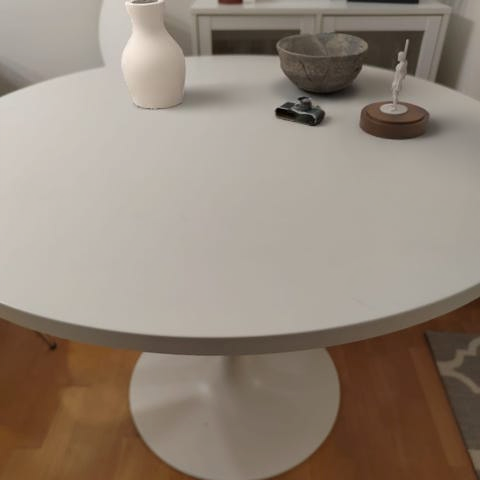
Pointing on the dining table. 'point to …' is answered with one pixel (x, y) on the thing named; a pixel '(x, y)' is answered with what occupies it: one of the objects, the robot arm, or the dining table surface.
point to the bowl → (321, 60)
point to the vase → (152, 58)
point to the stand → (394, 121)
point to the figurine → (397, 86)
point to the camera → (301, 111)
